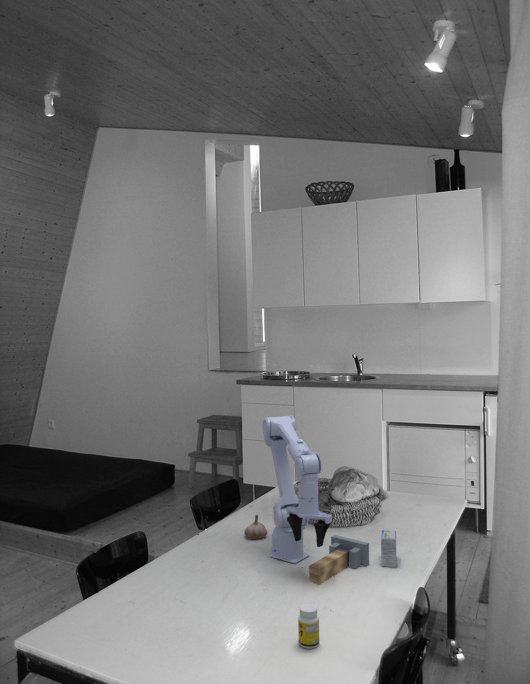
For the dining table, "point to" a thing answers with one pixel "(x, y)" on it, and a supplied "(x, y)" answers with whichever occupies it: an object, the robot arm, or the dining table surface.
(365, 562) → the grey stepped block
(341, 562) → the rail
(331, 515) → the robot arm
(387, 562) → the medicine box
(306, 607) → the supplement bottle
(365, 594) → the dining table surface
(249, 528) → the garlic bulb
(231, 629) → the dining table surface
